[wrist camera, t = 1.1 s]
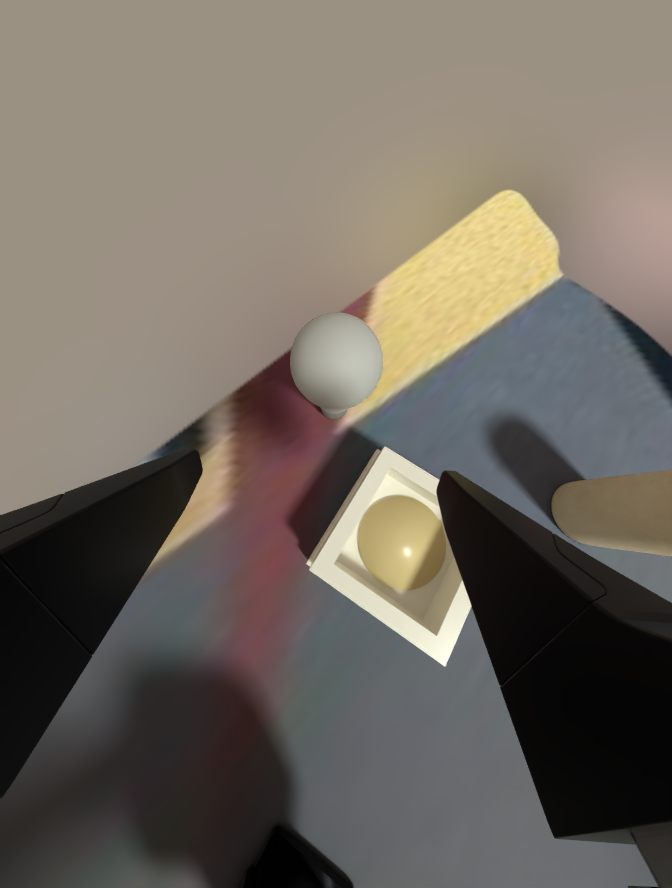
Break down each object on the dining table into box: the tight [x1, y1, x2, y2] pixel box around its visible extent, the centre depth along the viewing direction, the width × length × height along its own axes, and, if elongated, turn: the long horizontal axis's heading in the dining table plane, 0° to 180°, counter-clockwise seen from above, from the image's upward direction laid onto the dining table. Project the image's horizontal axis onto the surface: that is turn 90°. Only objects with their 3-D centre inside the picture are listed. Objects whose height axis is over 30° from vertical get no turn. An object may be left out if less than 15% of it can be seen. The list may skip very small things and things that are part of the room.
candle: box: [551, 470, 672, 556], centre depth 18 cm, size 6×6×10 cm
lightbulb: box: [290, 312, 383, 419], centre depth 19 cm, size 6×6×11 cm
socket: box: [306, 447, 471, 666], centre depth 19 cm, size 11×11×4 cm
